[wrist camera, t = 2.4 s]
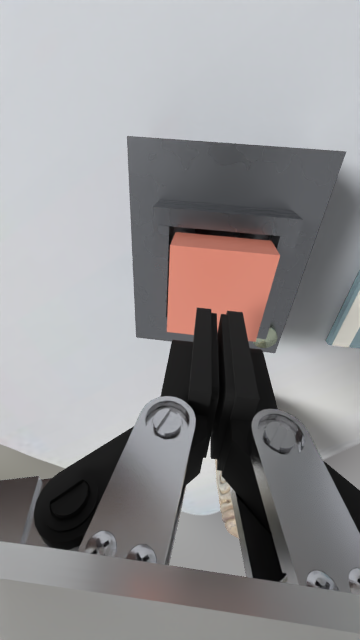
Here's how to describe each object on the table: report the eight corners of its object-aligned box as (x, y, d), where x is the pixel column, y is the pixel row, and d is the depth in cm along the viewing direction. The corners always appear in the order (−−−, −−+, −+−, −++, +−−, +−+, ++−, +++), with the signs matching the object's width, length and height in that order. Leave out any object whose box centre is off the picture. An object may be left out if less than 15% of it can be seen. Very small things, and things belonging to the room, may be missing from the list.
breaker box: (148, 138, 16) (113, 134, 11) (311, 149, 16) (368, 152, 10) (149, 302, 23) (128, 355, 17) (263, 314, 23) (281, 373, 17)
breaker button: (175, 232, 13) (170, 245, 11) (271, 240, 12) (280, 255, 11) (171, 311, 15) (166, 331, 14) (250, 320, 15) (255, 341, 13)
